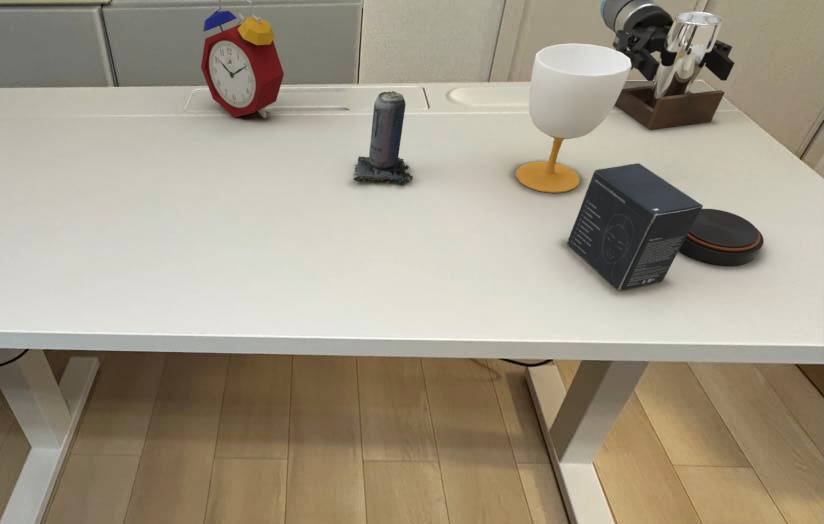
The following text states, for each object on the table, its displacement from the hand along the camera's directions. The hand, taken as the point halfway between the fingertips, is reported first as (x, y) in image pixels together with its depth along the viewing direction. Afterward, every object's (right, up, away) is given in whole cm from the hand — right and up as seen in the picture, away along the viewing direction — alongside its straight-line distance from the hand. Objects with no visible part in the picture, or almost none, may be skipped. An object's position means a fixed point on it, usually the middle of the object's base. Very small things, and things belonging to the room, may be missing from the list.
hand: (690, 72), depth 93 cm
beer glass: (+1, -3, +9) cm, 9 cm away
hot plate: (-10, -30, -18) cm, 37 cm away
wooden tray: (+1, -3, +9) cm, 9 cm away
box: (-24, -33, -20) cm, 45 cm away
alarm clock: (-71, +1, +17) cm, 73 cm away
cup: (-25, -18, -5) cm, 32 cm away
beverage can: (-50, -17, -2) cm, 53 cm away
